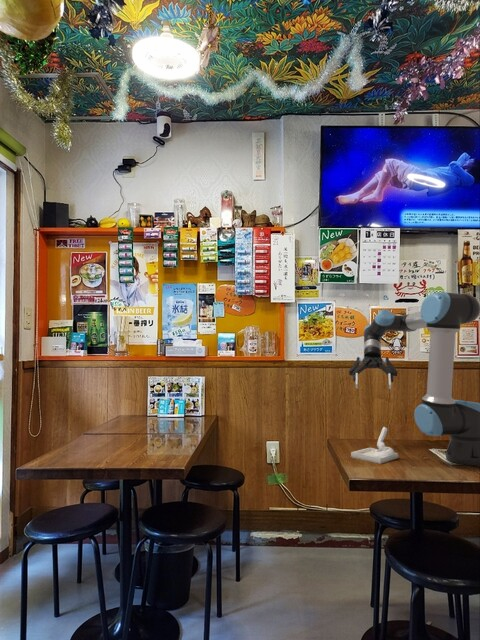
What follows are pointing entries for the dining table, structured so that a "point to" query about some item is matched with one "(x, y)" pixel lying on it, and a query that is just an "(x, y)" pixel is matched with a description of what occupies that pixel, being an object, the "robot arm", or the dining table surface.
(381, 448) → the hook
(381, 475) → the dining table surface
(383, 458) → the tray
